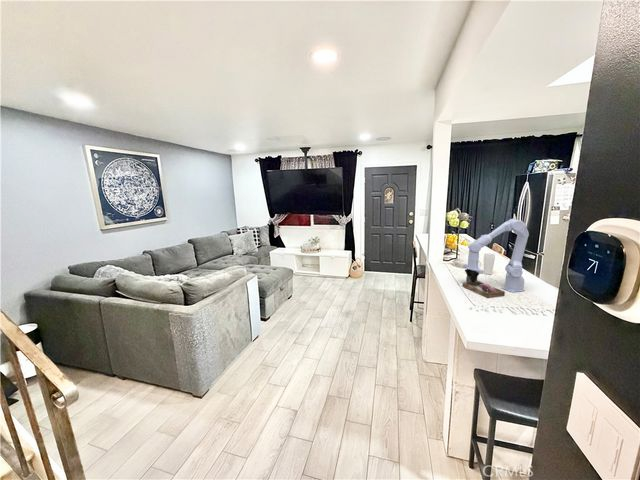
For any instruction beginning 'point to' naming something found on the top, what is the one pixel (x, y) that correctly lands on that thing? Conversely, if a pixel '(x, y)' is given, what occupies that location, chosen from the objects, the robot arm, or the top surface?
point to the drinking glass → (488, 263)
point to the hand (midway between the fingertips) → (471, 281)
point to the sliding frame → (470, 284)
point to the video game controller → (487, 288)
